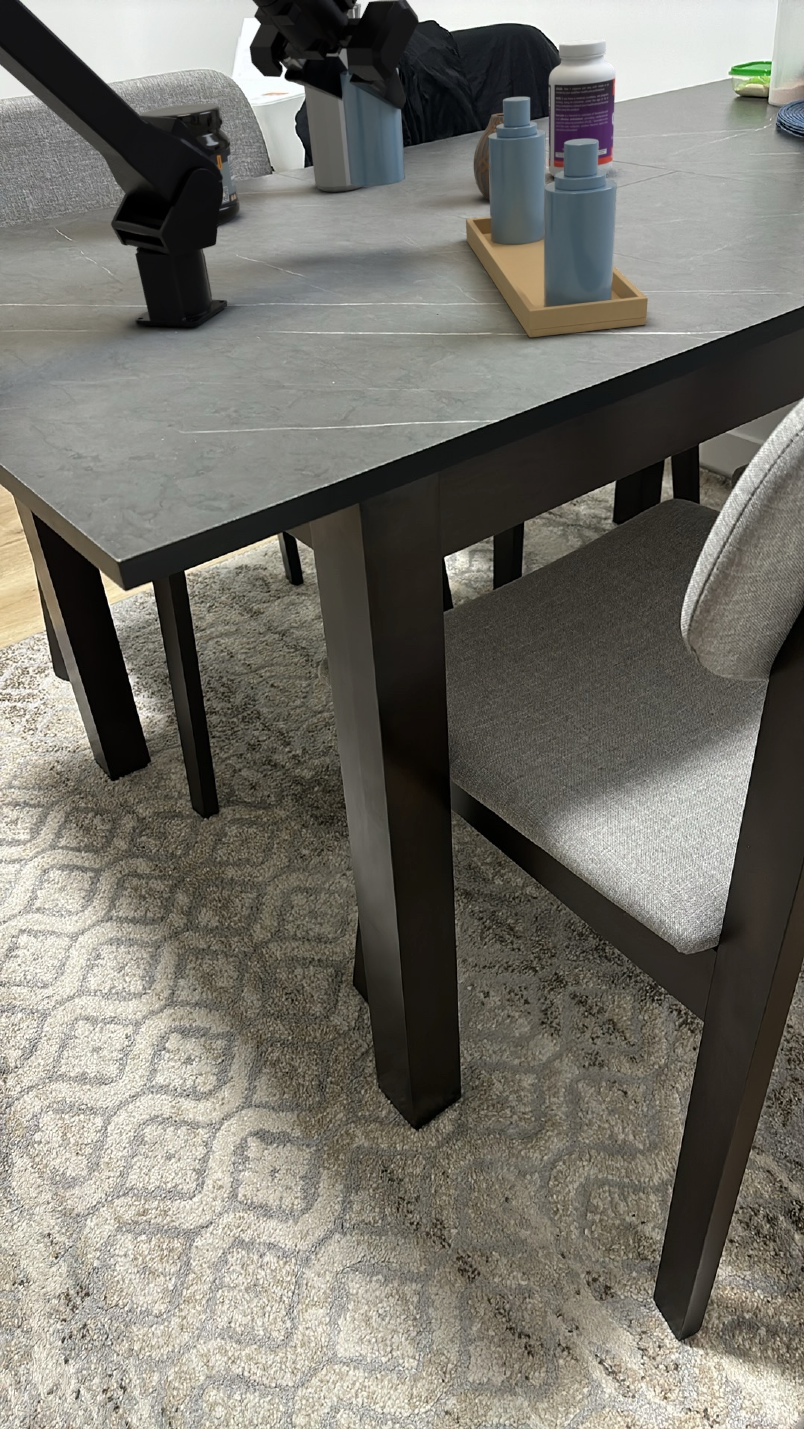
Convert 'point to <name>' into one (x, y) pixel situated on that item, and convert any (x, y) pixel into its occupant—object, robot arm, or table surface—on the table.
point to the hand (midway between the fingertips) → (382, 103)
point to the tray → (524, 282)
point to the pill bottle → (581, 101)
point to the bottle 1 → (517, 176)
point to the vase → (485, 156)
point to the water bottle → (329, 135)
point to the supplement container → (209, 146)
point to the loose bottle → (371, 137)
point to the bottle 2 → (579, 229)
